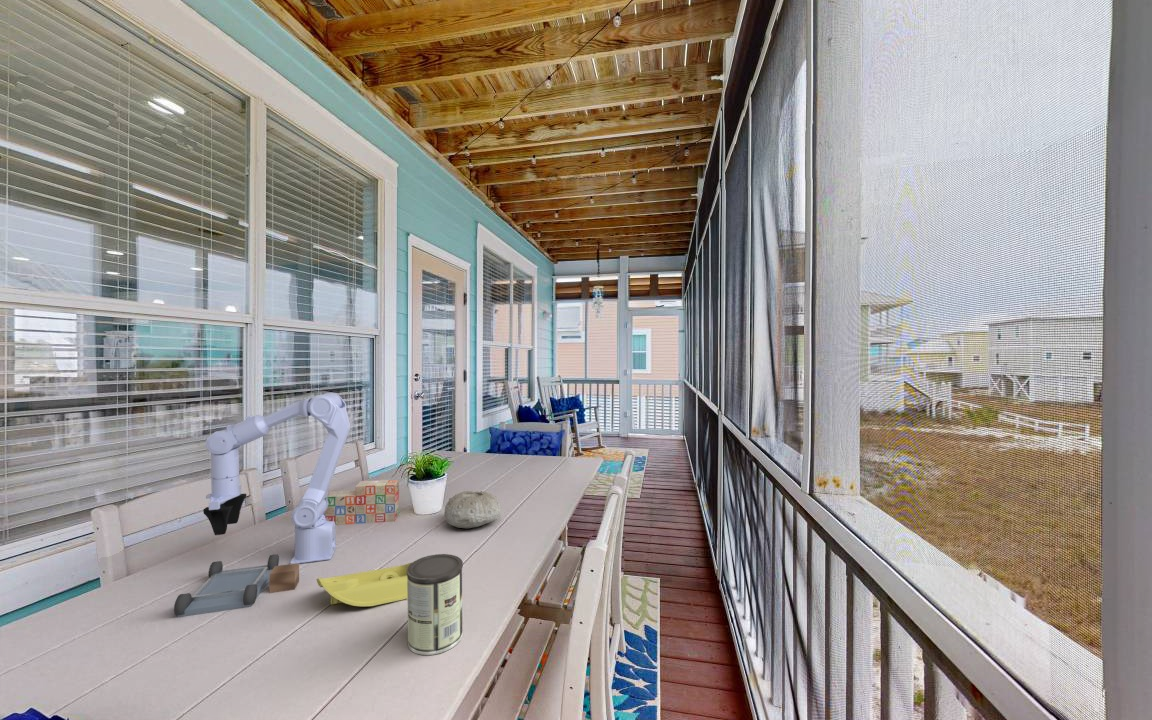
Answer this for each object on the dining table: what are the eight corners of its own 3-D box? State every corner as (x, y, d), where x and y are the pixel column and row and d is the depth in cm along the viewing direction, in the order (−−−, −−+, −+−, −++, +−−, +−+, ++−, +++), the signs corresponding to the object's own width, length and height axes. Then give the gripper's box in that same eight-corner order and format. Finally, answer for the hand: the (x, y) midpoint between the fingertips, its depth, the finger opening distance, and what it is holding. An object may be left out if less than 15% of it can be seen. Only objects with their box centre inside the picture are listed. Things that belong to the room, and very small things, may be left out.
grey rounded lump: (475, 510, 157) (475, 482, 157) (513, 521, 147) (513, 491, 147) (432, 526, 143) (432, 495, 143) (470, 540, 132) (470, 506, 132)
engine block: (299, 581, 108) (299, 563, 108) (294, 589, 104) (294, 570, 104) (275, 585, 107) (274, 566, 106) (269, 593, 103) (269, 574, 103)
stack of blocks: (324, 526, 143) (324, 487, 143) (331, 519, 149) (331, 482, 149) (395, 521, 147) (395, 484, 147) (399, 515, 153) (399, 479, 153)
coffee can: (425, 619, 93) (425, 551, 93) (472, 626, 90) (471, 556, 90) (395, 651, 83) (394, 575, 83) (446, 660, 80) (445, 581, 80)
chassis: (278, 567, 115) (278, 551, 115) (250, 608, 97) (250, 589, 97) (215, 575, 111) (215, 559, 111) (174, 619, 92) (173, 600, 92)
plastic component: (406, 564, 112) (416, 561, 104) (407, 597, 109) (417, 596, 102) (314, 580, 101) (318, 577, 94) (312, 617, 98) (316, 617, 91)
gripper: (218, 470, 122) (219, 520, 122) (193, 485, 108) (194, 541, 108) (249, 468, 124) (250, 517, 124) (228, 482, 110) (229, 537, 110)
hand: (226, 528), depth 116 cm, fingers open, 7 cm apart
